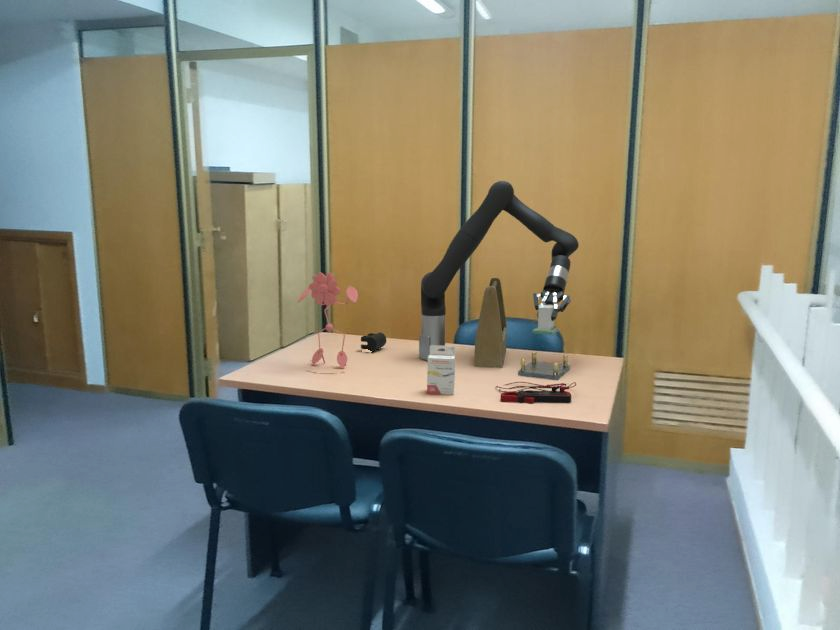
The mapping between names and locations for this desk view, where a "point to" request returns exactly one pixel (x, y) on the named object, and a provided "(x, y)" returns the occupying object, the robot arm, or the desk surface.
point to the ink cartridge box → (441, 370)
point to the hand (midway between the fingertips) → (545, 318)
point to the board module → (545, 321)
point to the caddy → (491, 328)
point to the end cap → (373, 341)
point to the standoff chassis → (544, 368)
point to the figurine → (326, 293)
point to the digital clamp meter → (537, 394)
